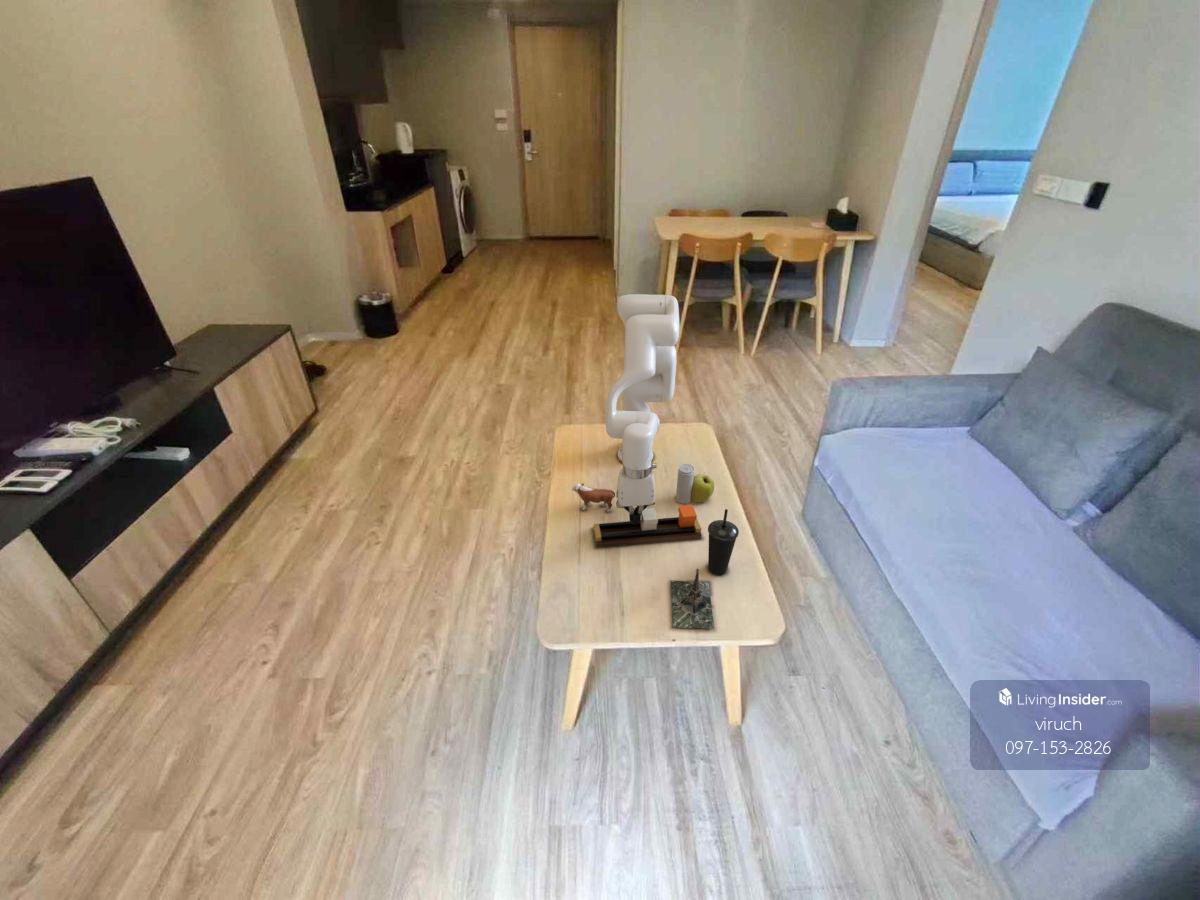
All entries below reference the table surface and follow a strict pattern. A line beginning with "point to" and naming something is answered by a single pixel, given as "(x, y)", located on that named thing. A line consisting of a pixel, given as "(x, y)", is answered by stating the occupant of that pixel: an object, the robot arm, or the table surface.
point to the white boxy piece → (649, 519)
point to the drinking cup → (721, 544)
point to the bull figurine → (594, 495)
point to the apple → (702, 488)
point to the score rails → (647, 533)
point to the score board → (644, 539)
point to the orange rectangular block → (686, 516)
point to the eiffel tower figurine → (691, 604)
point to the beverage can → (684, 483)
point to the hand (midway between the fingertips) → (634, 522)
